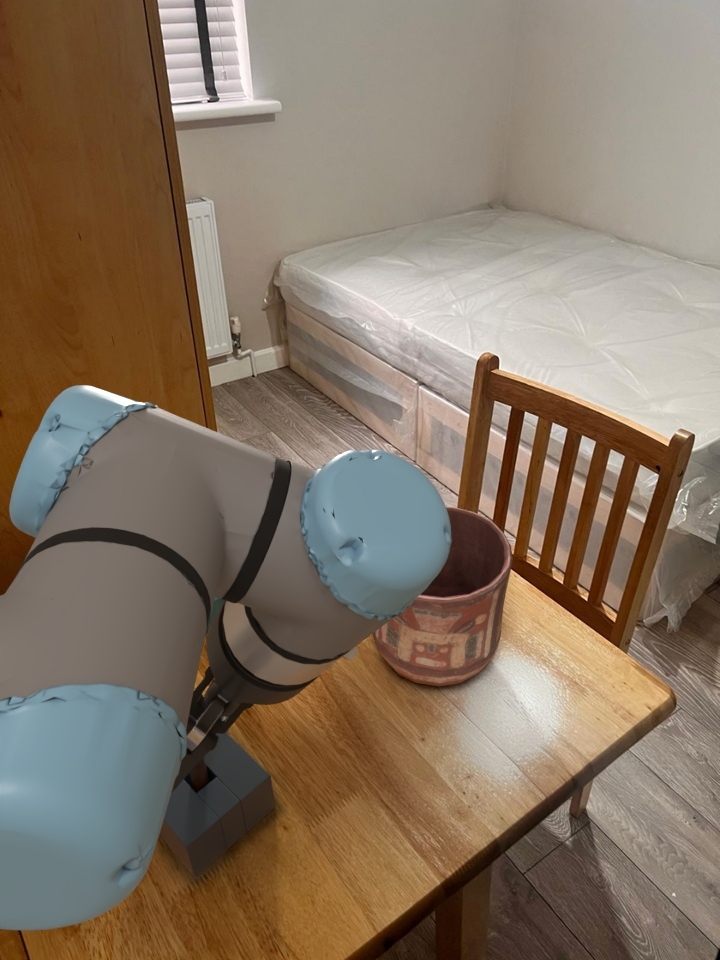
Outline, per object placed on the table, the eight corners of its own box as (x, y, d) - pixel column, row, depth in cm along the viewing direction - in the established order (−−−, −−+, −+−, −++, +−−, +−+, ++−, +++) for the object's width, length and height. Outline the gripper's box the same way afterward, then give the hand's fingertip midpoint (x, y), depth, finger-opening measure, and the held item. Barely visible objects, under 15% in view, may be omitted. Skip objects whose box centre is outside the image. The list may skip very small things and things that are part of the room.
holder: (195, 878, 74) (185, 847, 70) (139, 810, 80) (127, 778, 76) (275, 807, 80) (270, 775, 76) (217, 749, 86) (210, 716, 83)
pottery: (351, 621, 102) (347, 520, 92) (465, 592, 107) (474, 493, 96) (395, 722, 89) (396, 616, 78) (524, 684, 93) (542, 579, 83)
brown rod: (200, 818, 79) (164, 684, 66) (198, 804, 80) (163, 670, 68) (216, 813, 79) (184, 679, 67) (214, 799, 81) (182, 665, 68)
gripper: (207, 855, 37) (129, 891, 53) (411, 535, 53) (305, 636, 69) (90, 763, 37) (47, 827, 52) (330, 471, 53) (242, 587, 69)
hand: (193, 719), depth 61 cm, fingers open, 13 cm apart
